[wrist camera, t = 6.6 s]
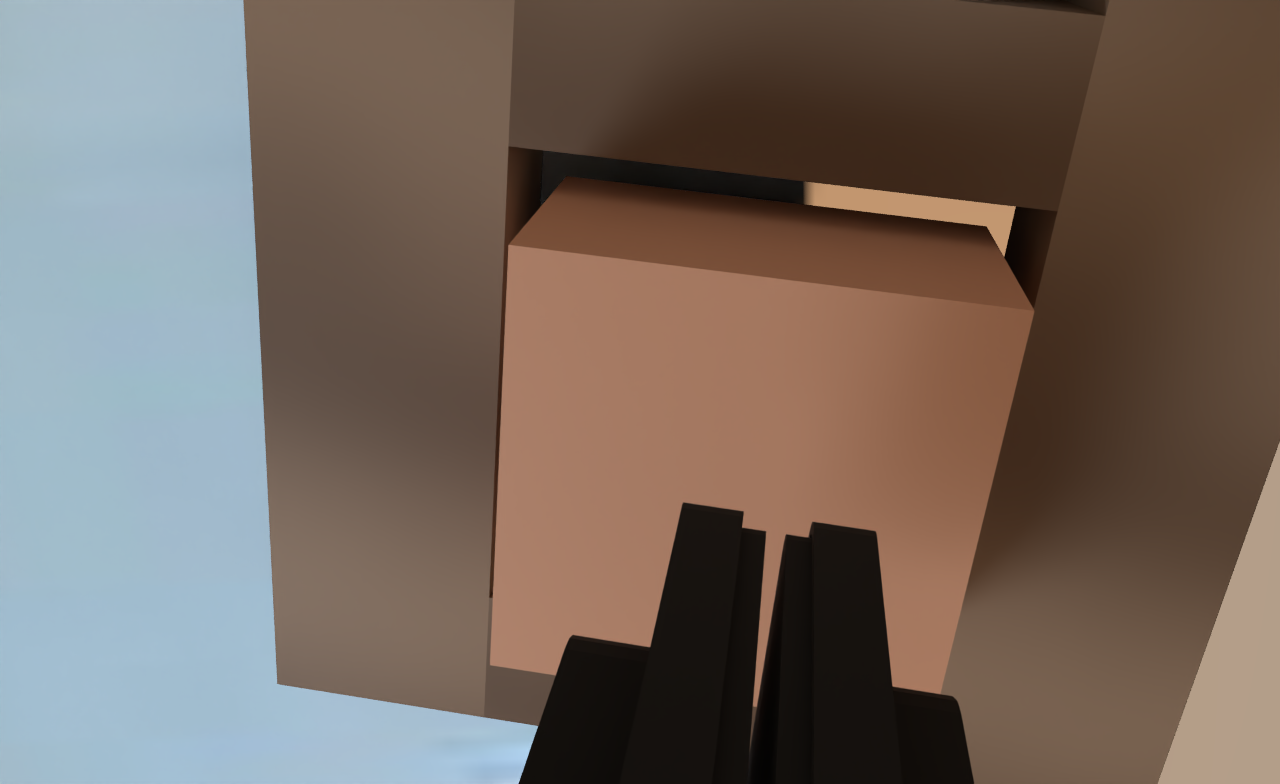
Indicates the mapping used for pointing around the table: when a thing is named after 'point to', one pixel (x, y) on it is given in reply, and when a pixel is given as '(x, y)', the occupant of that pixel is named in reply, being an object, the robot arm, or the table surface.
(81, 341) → the table surface
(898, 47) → the panel
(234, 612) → the table surface
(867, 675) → the robot arm
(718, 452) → the terracotta button
